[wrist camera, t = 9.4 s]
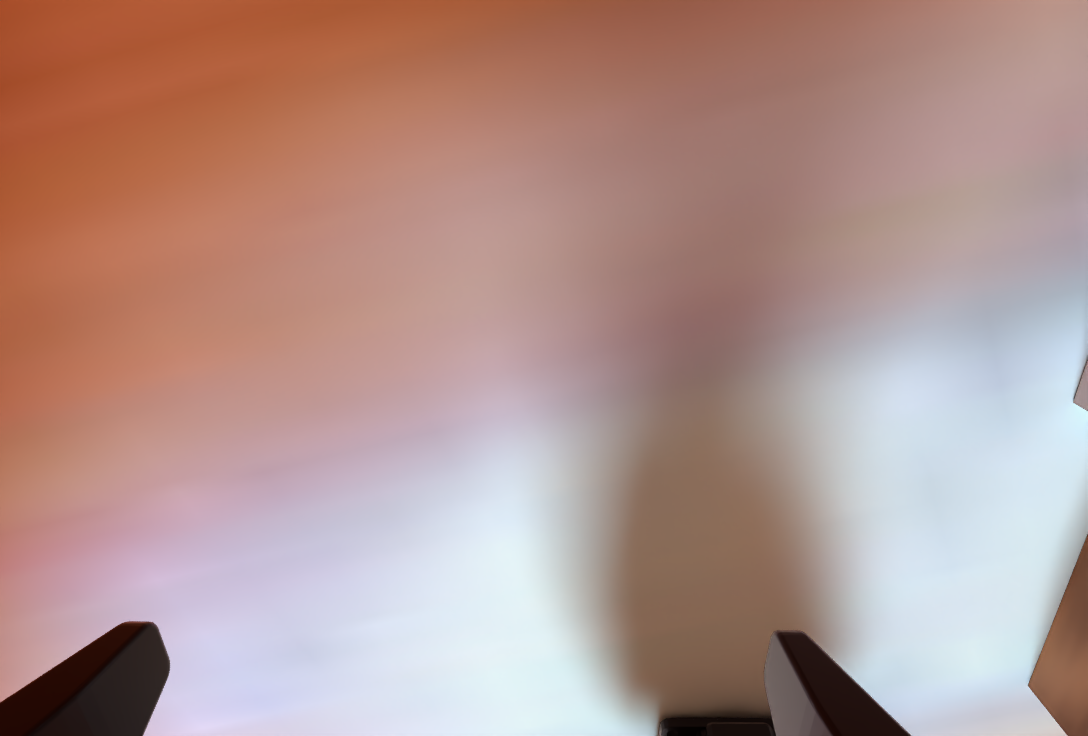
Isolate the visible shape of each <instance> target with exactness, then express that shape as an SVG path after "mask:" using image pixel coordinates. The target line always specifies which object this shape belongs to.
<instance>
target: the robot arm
mask: <svg viewBox="0 0 1088 736" xmlns="http://www.w3.org/2000/svg"><path fill="white" fill-rule="evenodd" d="M169 671H170V660H169V656H168V654H167V651H166V648H165V645H164V643H163V640H162V637H161V634H160V632H159V629H158V627H157V625H155V624H154V623H153V622H138V621H129V622H124V623H122V624H120V625H118V626H116V627H115V628H113V629H112V630H110V631H109V632H107V633H105V634H104V635H102V636H101V637H99V638H98V639H96V640H95V641H93V642H92V643H90V644H89V645H87V646H86V647H84V648H83V649H81V650H80V651H78V652H77V653H75V654H74V655H72V656H70V657H69V658H67V659H66V660H64V661H63V662H61V663H60V664H58V665H57V666H55V667H54V668H52V669H51V670H49V671H48V672H46V673H45V674H43V675H42V676H40V677H38V678H37V679H35V680H34V681H32V682H31V683H29V684H28V685H26V686H25V687H23V688H22V689H20V690H19V691H17V692H16V693H14V694H13V695H11V696H10V697H8V698H7V699H5V700H3V701H2V702H0V736H143V734H144V732H145V730H146V727H147V725H148V723H149V720H150V718H151V716H152V714H153V711H154V709H155V707H156V704H157V702H158V700H159V697H160V695H161V693H162V690H163V688H164V686H165V683H166V681H167V678H168V675H169ZM764 683H765V689H766V693H767V698H768V702H769V707H770V711H771V715H772V718H668V719H665V720H663V721H662V722H661V723H660V729H659V736H911V735H910V734H909V733H908V732H907V731H906V730H905V729H904V728H903V727H902V726H901V725H900V724H899V723H898V722H897V721H896V720H895V719H894V718H893V717H892V716H891V715H889V714H888V713H887V712H886V711H885V710H884V709H883V708H882V707H881V706H880V705H879V704H878V703H877V702H876V701H875V700H874V699H873V698H872V697H871V696H870V695H869V694H868V693H867V692H866V691H865V690H864V689H863V688H862V687H861V686H860V685H859V684H858V683H856V682H855V681H854V680H853V679H852V678H851V677H850V676H849V675H848V674H847V673H846V672H845V671H844V670H843V669H842V668H841V667H840V666H839V665H838V664H837V663H836V662H835V661H834V660H833V659H832V658H831V657H830V656H829V655H828V654H827V653H826V652H825V651H823V650H822V649H821V648H820V647H819V646H818V645H817V644H816V643H815V642H814V641H813V640H812V639H811V638H810V637H809V636H808V635H807V634H805V633H804V632H802V631H798V630H777V631H774V632H773V634H772V636H771V639H770V644H769V649H768V654H767V658H766V663H765V668H764Z"/></svg>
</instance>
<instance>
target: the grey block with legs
mask: <svg viewBox="0 0 1088 736" xmlns="http://www.w3.org/2000/svg"><path fill="white" fill-rule="evenodd" d="M1073 403H1075V404H1076V405H1078V406H1080V407H1082V408H1083V409H1085V410H1087V411H1088V361H1087V364H1086V367H1085V370H1084V373H1083V376H1082V378H1081V381H1080V384H1079V387H1078V390H1077V393H1076V396H1075V399H1074V402H1073Z"/></svg>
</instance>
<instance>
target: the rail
mask: <svg viewBox="0 0 1088 736" xmlns="http://www.w3.org/2000/svg"><path fill="white" fill-rule="evenodd" d="M1028 686H1029V688H1030V689H1031V690H1032V692H1033V693H1034V694H1035V695H1036V697H1037V698H1038V699H1039V700H1040V702H1041V703H1042V704H1043V705H1044V707H1045V708H1046V709H1047V710H1048V712H1049V713H1050V714H1051V715H1052V717H1053V718H1054V719H1055V720H1056V722H1057V723H1058V724H1059V725H1060V727H1061V728H1062V729H1063V730H1064V732H1065V733H1066V734H1067V735H1068V736H1088V535H1087V538H1086V540H1085V543H1084V545H1083V548H1082V550H1081V553H1080V555H1079V558H1078V560H1077V563H1076V565H1075V568H1074V570H1073V573H1072V576H1071V578H1070V581H1069V583H1068V586H1067V588H1066V591H1065V593H1064V596H1063V598H1062V601H1061V603H1060V606H1059V608H1058V611H1057V614H1056V616H1055V619H1054V621H1053V624H1052V626H1051V629H1050V631H1049V634H1048V636H1047V639H1046V641H1045V644H1044V646H1043V649H1042V652H1041V654H1040V657H1039V659H1038V662H1037V664H1036V667H1035V669H1034V672H1033V674H1032V677H1031V679H1030V682H1029V684H1028Z"/></svg>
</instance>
